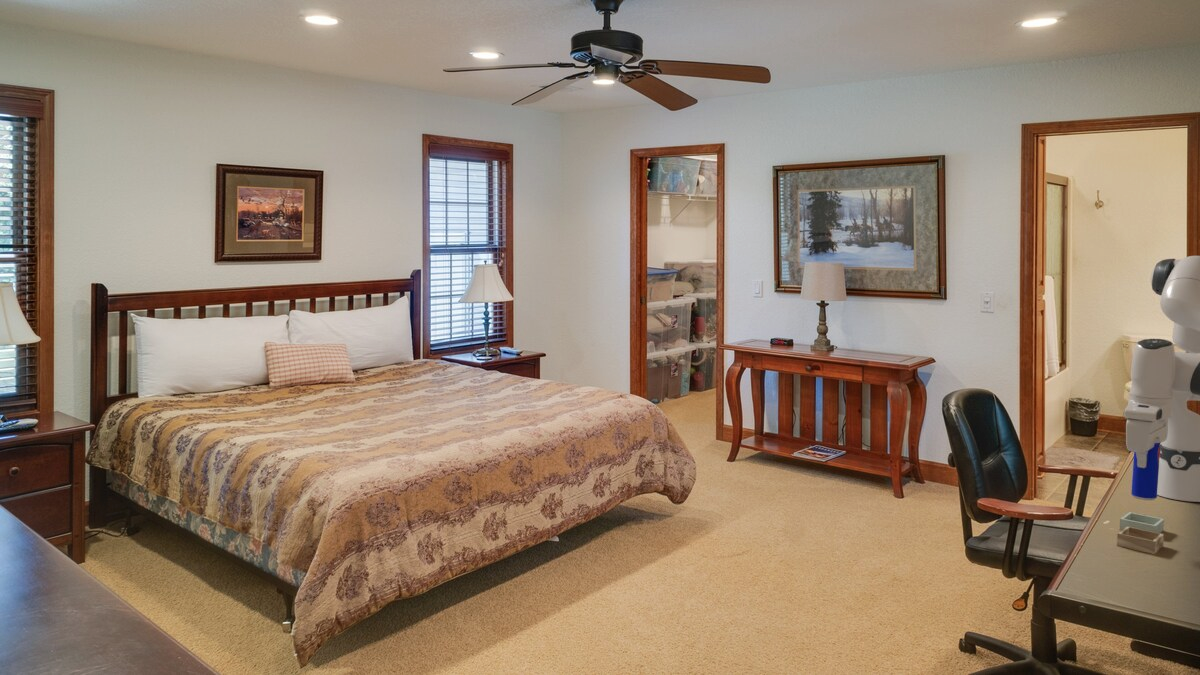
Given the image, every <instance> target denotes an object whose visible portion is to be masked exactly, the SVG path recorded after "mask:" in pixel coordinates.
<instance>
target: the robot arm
mask: <svg viewBox="0 0 1200 675" xmlns="http://www.w3.org/2000/svg"><path fill="white" fill-rule="evenodd" d="M1150 284H1151V289H1152V291H1154V292H1153V293H1155V294H1157V295H1159V296H1160V302H1159V303H1160V304H1159V305H1160V309H1161V311H1162V313H1163V314H1164V316H1165V317H1167V318H1168V319H1169V320H1170V321H1172V322H1173V328H1172V329H1173V330H1172V337H1171V338H1172V341H1170V340H1168V339H1167V340H1166V339H1164V338H1149V339H1148V338H1145V339H1141V340H1139V341H1137V342H1136V344H1135V347H1134V350H1133V355H1132V360H1131V366H1130V379H1131V380H1130V381H1131V386H1130V388H1129V392H1128V401H1127V405H1126V407H1125V408H1124V412H1123V413H1124V416H1123V417H1124V418H1125V419H1126V422H1125V423H1126V424H1125V439H1126V440H1125V443H1126V450H1127V451H1128V452H1133V453H1134V452H1136V456H1137V466H1138V467H1141V468H1145V467H1147V463H1148V460H1147V454H1148V450H1150V449H1152V448H1153V447H1154V444H1155V439H1156V438H1158V437H1159V438H1160V441H1161V444H1160V458H1159V473H1158V488H1157V496H1160V497H1163V498H1166V499H1172V500H1176V501H1177V500H1178V501H1182V502H1195V503H1197V502H1198V503H1200V414H1199V413H1197V412H1194V411H1192V410H1190V409H1188V404H1187V402H1189V401H1195V402H1196V401H1198V402H1199V401H1200V255H1189V256H1185V257H1184V258H1182V259H1176V258H1166V259H1162V260H1160V261H1159V262H1157V263H1156V265H1155V266H1154V268H1153V270H1152V272H1151V274H1150ZM1174 345H1175V346H1176V347H1178V348H1179V349H1181V350H1182V351H1185V352H1181V351H1175V346H1174Z"/></svg>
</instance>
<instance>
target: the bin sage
mask: <svg viewBox="0 0 1200 675" xmlns="http://www.w3.org/2000/svg"><path fill="white" fill-rule="evenodd" d="M1127 526H1129V527H1133V528H1138V529H1143V530H1147V531H1152V532H1157V533H1161V534H1162V532H1164V528H1165V519H1164V518H1160V517H1155V516H1151V515H1146V514H1140V513H1135V512H1132V511H1129V512H1127V513H1126V514H1124V515H1123V516H1122V517H1120V518H1119V529H1118V530H1119V531H1122V530H1123V529H1124V528H1126V527H1127Z"/></svg>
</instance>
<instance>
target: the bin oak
mask: <svg viewBox="0 0 1200 675" xmlns="http://www.w3.org/2000/svg"><path fill="white" fill-rule="evenodd" d="M1116 536H1117V538H1116V546H1117V547H1121V548H1125V549H1131V550H1134V551H1139V552H1144V553H1148V554H1152V555H1155V554H1156V553H1158V551H1159V550H1161V548H1163V547H1164V542H1165V541H1164V540H1165V538H1164V537H1165V533H1162V532H1161V533H1157V532H1152V531H1147V530H1143V529H1138V528H1133V527H1129V526H1127V527H1126V528H1124V529H1123V530H1122V531H1121V530H1119V532H1117V535H1116Z"/></svg>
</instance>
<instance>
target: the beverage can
mask: <svg viewBox="0 0 1200 675" xmlns="http://www.w3.org/2000/svg"><path fill="white" fill-rule="evenodd" d="M1161 444H1162V443H1161V441H1160V438H1159V437H1158V438H1156V439H1155V444H1154V447H1153V448H1152V449H1150V450H1148V454H1147V460H1148V463H1147V467H1145V468H1141V467H1138V466H1137V456H1136V452H1133V466H1132V477H1131V478H1132V480H1131V492H1130V493H1131V495H1132V498H1135V499H1137V500H1141V501H1154V500H1156V499H1157V497H1158V495H1157V488H1158V473H1159V458H1160V445H1161Z"/></svg>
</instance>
